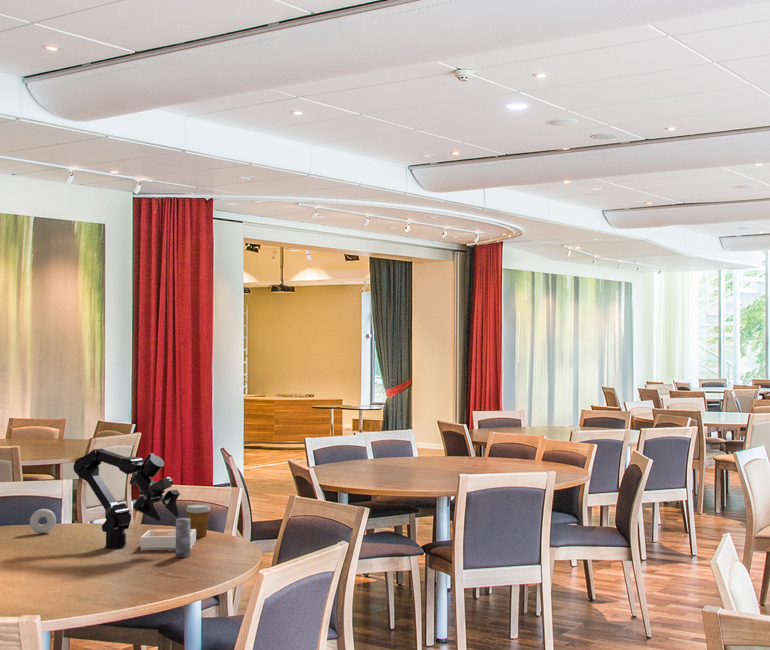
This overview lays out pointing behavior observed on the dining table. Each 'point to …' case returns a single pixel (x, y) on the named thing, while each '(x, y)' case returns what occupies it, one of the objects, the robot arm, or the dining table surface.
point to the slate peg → (183, 537)
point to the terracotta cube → (162, 532)
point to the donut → (48, 526)
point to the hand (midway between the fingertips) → (169, 518)
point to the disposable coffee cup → (199, 518)
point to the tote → (163, 540)
